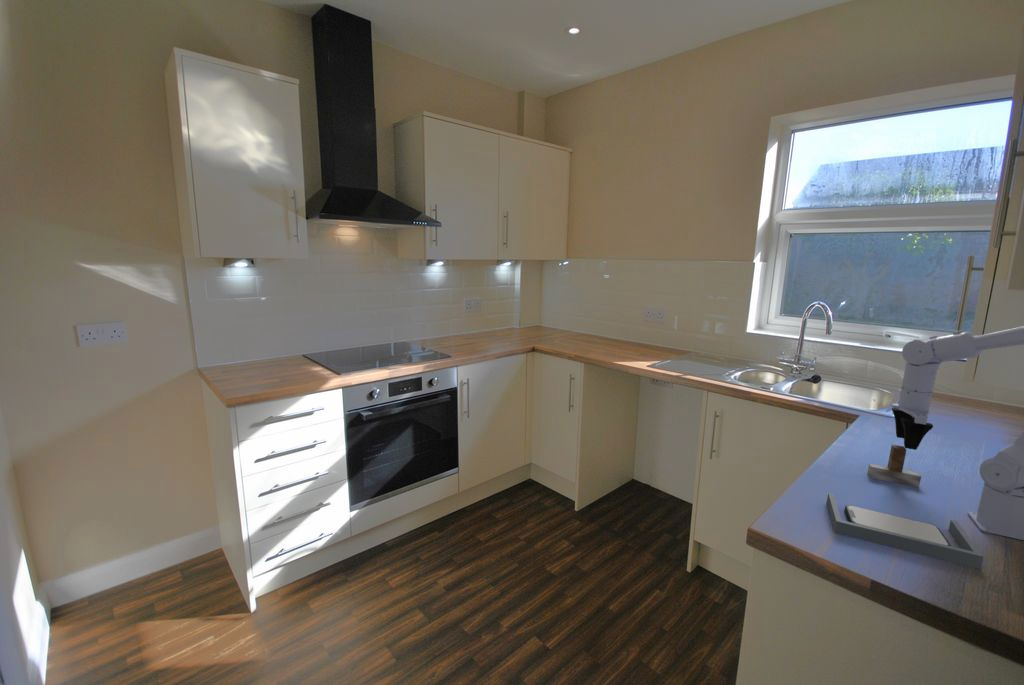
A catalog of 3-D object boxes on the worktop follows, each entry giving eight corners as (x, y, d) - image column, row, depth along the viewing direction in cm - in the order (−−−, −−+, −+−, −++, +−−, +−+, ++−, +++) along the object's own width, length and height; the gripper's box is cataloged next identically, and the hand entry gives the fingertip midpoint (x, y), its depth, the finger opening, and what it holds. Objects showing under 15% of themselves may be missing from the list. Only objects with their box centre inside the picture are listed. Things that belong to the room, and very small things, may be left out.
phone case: (935, 532, 97) (842, 509, 104) (937, 525, 96) (844, 503, 103) (951, 556, 89) (850, 530, 96) (953, 548, 88) (851, 523, 95)
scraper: (916, 483, 116) (923, 449, 114) (919, 488, 114) (926, 453, 112) (866, 474, 121) (873, 441, 119) (868, 477, 119) (875, 444, 117)
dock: (954, 532, 96) (957, 521, 95) (980, 568, 84) (983, 556, 84) (826, 503, 105) (828, 492, 105) (834, 532, 94) (836, 521, 94)
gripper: (888, 380, 120) (879, 430, 123) (903, 394, 107) (892, 449, 110) (924, 384, 117) (913, 435, 119) (943, 399, 104) (931, 456, 107)
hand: (906, 443), depth 115 cm, fingers open, 7 cm apart
